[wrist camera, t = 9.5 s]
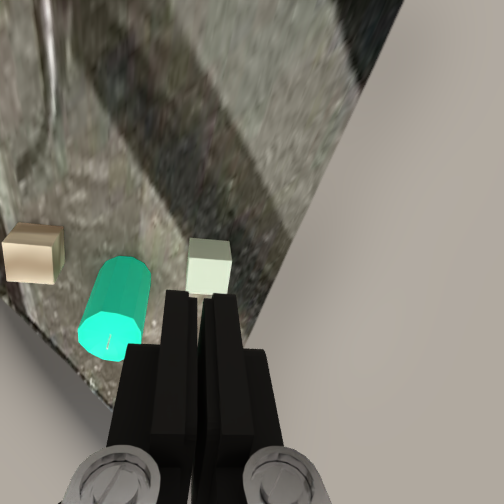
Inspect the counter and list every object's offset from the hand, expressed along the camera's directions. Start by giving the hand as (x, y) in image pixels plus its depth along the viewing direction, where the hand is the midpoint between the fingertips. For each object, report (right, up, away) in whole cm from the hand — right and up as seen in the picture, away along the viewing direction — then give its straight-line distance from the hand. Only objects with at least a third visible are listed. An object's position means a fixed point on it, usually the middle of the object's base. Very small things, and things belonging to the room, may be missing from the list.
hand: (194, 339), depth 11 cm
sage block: (-4, +2, +40) cm, 40 cm away
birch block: (-21, +3, +36) cm, 42 cm away
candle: (-13, -1, +40) cm, 42 cm away
